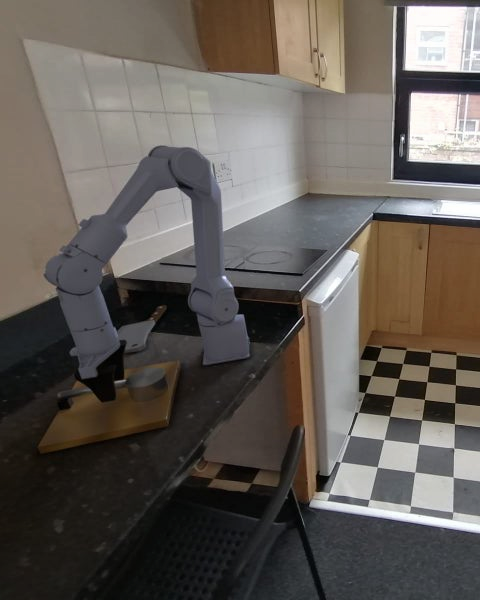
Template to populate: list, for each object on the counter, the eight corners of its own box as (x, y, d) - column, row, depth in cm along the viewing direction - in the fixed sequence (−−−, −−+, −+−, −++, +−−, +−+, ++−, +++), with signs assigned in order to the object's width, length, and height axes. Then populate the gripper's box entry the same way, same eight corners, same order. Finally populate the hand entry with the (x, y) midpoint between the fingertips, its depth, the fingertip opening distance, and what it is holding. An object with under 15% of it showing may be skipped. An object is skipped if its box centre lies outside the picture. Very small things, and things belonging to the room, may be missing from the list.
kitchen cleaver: (136, 308, 111) (174, 303, 113) (137, 311, 112) (175, 306, 113) (92, 354, 89) (141, 348, 91) (94, 358, 90) (142, 352, 91)
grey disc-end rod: (170, 378, 80) (167, 364, 78) (166, 397, 74) (162, 382, 73) (67, 397, 74) (61, 382, 73) (54, 419, 69) (48, 404, 67)
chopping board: (180, 366, 86) (179, 360, 86) (168, 426, 69) (166, 419, 69) (81, 383, 80) (78, 377, 80) (40, 454, 63) (37, 446, 63)
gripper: (76, 309, 73) (98, 372, 78) (44, 348, 60) (74, 420, 66) (121, 304, 75) (140, 365, 81) (99, 340, 63) (123, 410, 68)
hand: (113, 389), depth 73 cm, fingers open, 6 cm apart
